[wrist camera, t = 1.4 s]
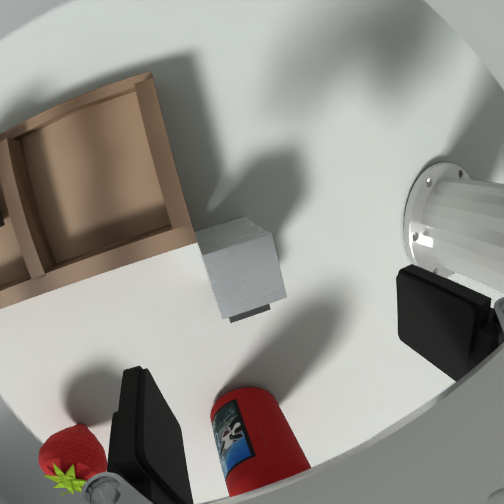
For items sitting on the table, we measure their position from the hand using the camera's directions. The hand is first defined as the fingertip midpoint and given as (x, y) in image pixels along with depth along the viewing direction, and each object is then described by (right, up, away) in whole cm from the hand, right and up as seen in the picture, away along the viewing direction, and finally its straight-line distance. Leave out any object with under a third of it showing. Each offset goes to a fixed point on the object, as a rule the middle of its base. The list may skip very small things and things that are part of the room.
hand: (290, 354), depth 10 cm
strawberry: (-19, -14, +15) cm, 28 cm away
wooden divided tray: (-17, +7, +10) cm, 21 cm away
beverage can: (-2, -12, +19) cm, 22 cm away
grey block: (-3, +3, +14) cm, 15 cm away
